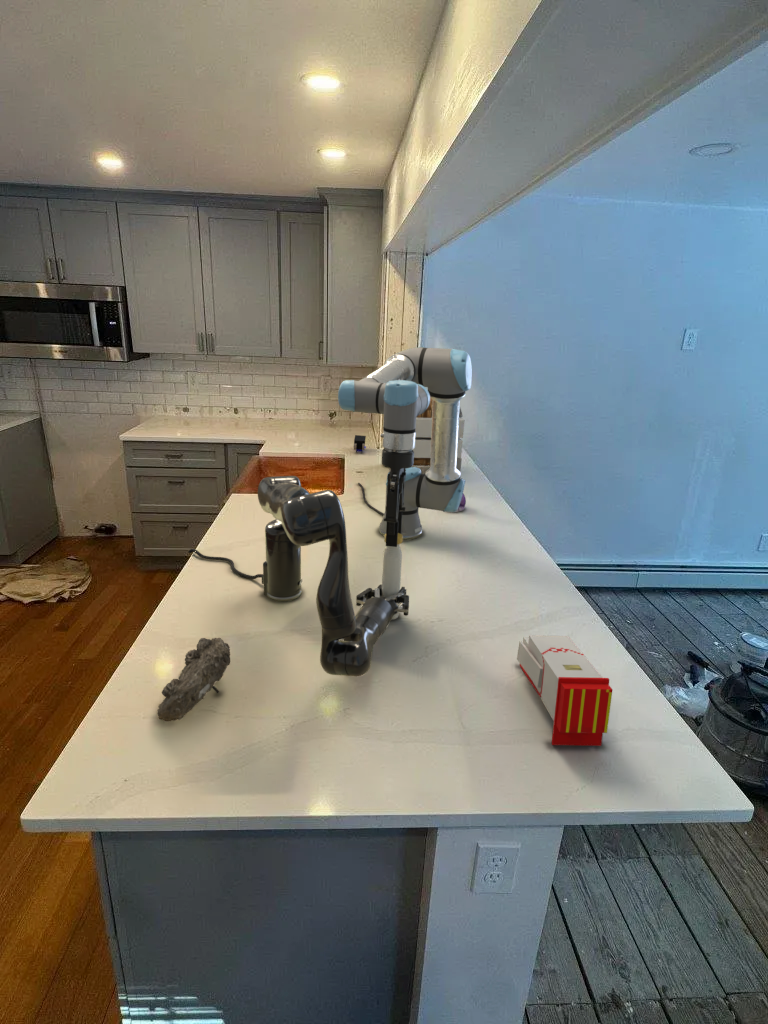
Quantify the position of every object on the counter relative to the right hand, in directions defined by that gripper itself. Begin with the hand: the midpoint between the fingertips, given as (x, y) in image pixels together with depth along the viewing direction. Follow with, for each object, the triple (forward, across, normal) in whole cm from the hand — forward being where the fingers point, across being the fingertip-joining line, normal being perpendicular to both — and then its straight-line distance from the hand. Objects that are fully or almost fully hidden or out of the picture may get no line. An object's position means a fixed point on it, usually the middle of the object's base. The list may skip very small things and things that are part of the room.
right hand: (393, 540), depth 140 cm
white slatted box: (+21, -137, -8) cm, 139 cm away
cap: (-1, 0, 0) cm, 1 cm away
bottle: (+21, 0, 0) cm, 21 cm away
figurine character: (+21, -171, -45) cm, 178 cm away
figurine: (+21, -89, +12) cm, 92 cm away
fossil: (+21, +39, -32) cm, 55 cm away
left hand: (+14, -3, 0) cm, 15 cm away
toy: (+21, +25, +39) cm, 51 cm away
